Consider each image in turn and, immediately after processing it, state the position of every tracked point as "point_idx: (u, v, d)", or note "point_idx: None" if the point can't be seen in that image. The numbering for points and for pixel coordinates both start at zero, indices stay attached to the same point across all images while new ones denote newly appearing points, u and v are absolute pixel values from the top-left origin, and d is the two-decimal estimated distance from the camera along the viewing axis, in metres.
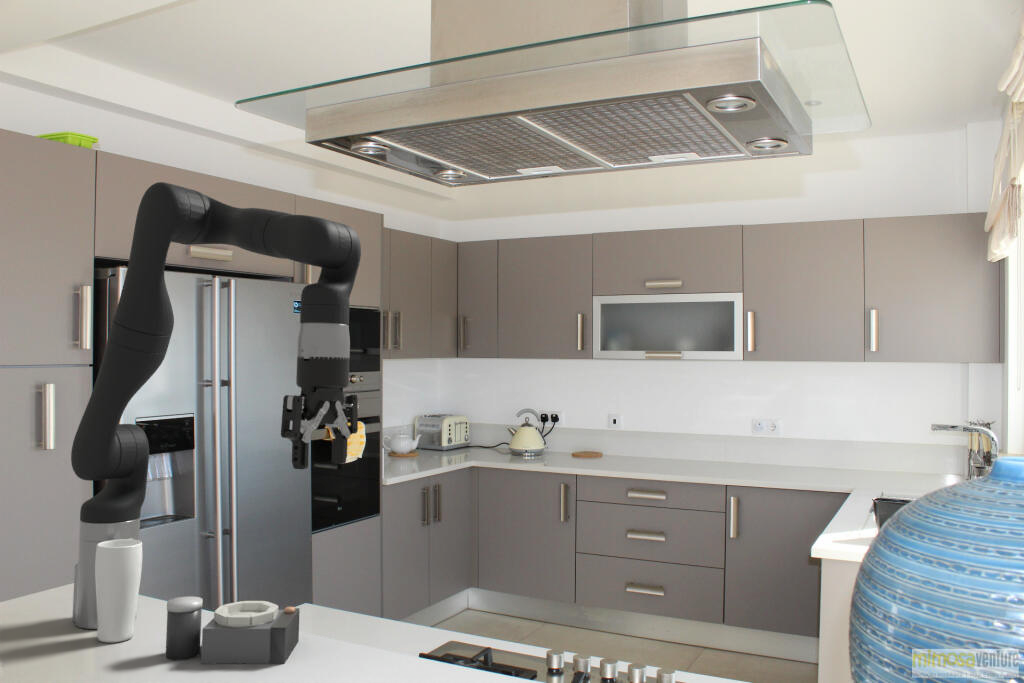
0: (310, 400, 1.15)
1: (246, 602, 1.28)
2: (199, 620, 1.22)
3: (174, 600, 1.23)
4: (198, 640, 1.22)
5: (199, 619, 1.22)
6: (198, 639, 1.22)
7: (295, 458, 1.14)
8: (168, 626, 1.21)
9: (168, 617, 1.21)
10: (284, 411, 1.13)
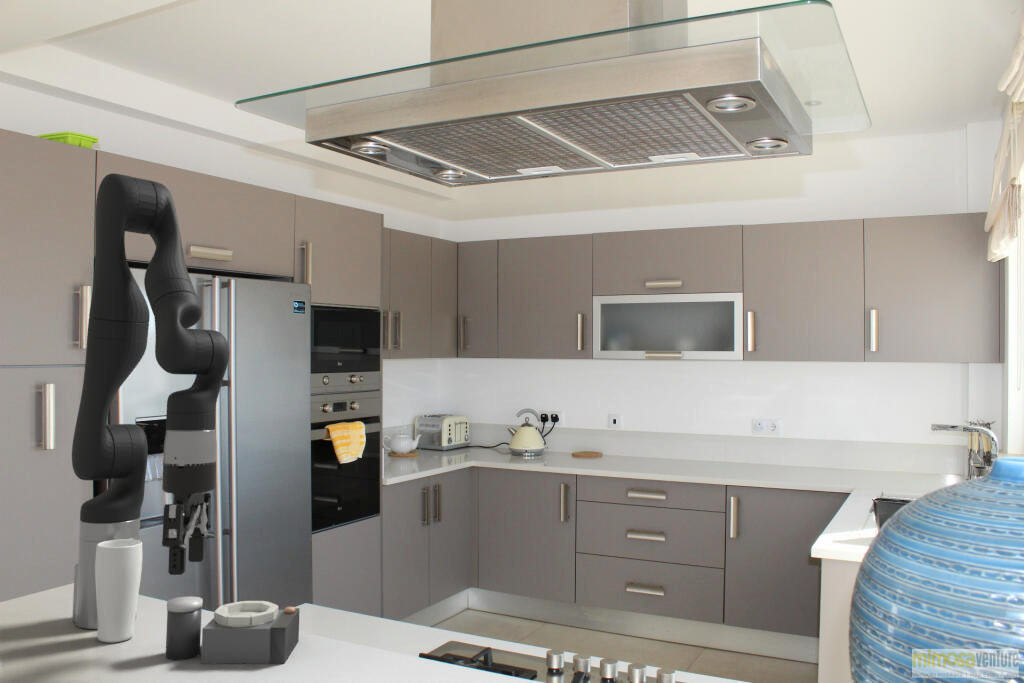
0: (187, 506, 1.19)
1: (246, 602, 1.28)
2: (199, 620, 1.22)
3: (174, 600, 1.23)
4: (198, 640, 1.22)
5: (199, 619, 1.22)
6: (198, 639, 1.22)
7: (174, 565, 1.18)
8: (168, 626, 1.21)
9: (168, 617, 1.21)
10: (165, 520, 1.16)
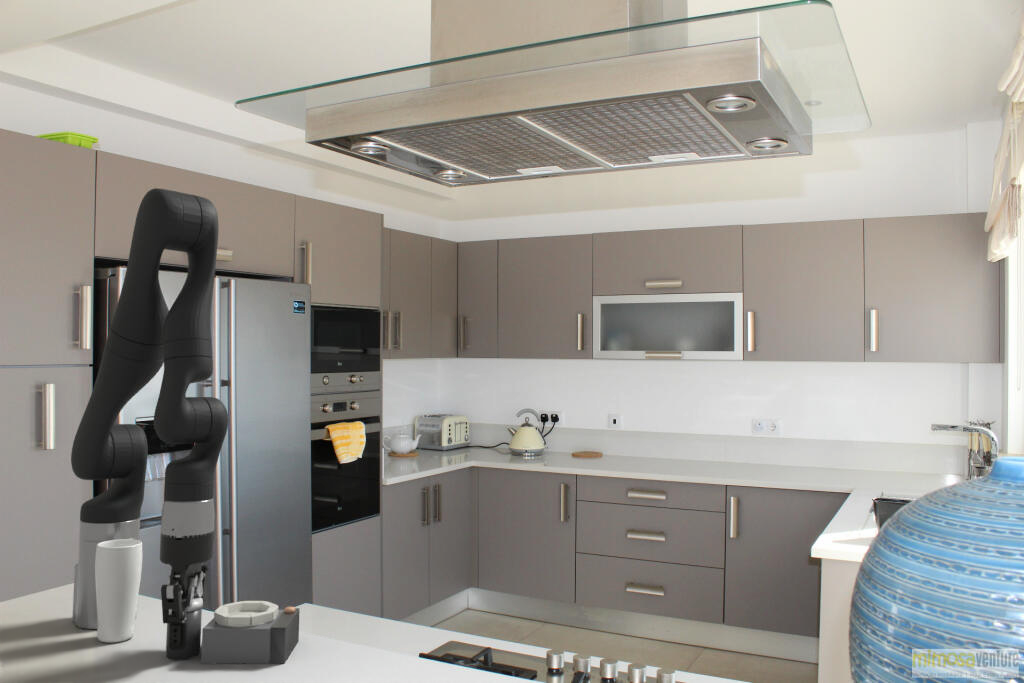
0: (184, 580, 1.19)
1: (246, 602, 1.28)
2: (199, 620, 1.22)
3: None
4: (198, 640, 1.22)
5: (199, 619, 1.22)
6: (198, 639, 1.22)
7: (174, 640, 1.19)
8: (168, 626, 1.21)
9: None
10: (164, 601, 1.16)
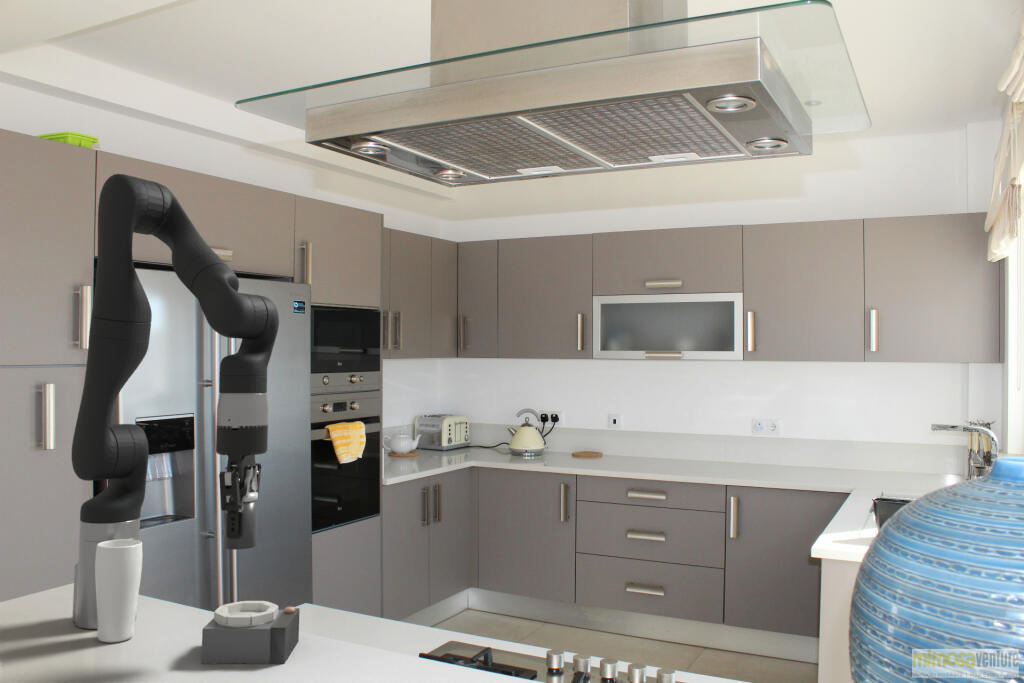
0: (241, 469, 1.21)
1: (246, 602, 1.28)
2: (255, 512, 1.24)
3: None
4: (254, 531, 1.24)
5: (255, 511, 1.24)
6: (254, 530, 1.24)
7: (232, 529, 1.20)
8: (225, 517, 1.22)
9: None
10: (222, 488, 1.18)
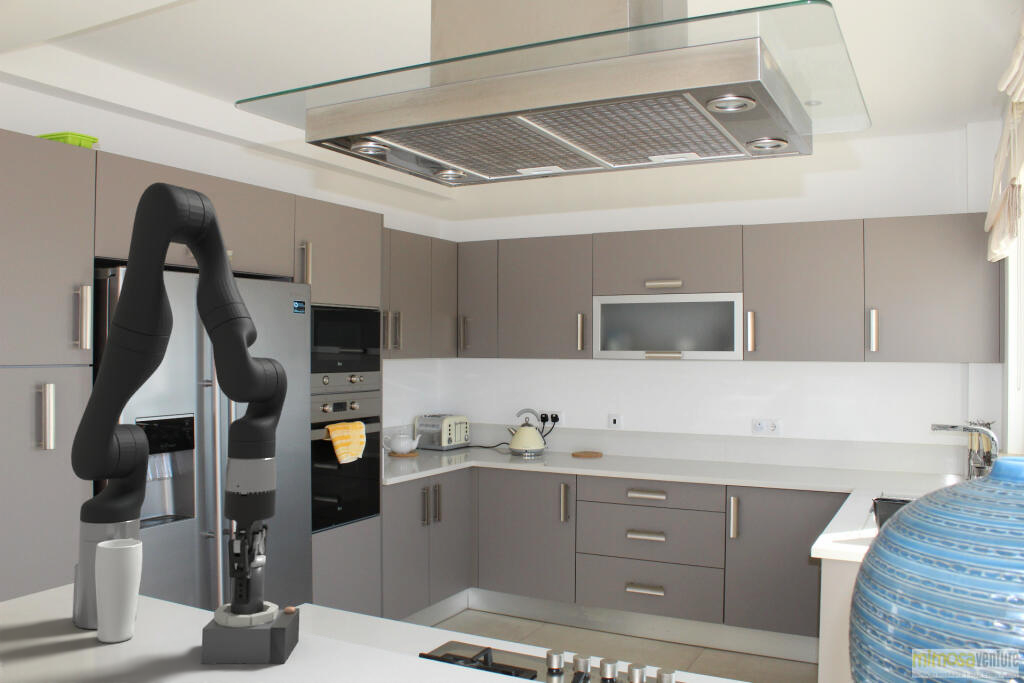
0: (249, 535, 1.21)
1: None
2: (263, 576, 1.24)
3: None
4: (262, 596, 1.24)
5: (263, 575, 1.24)
6: (262, 595, 1.24)
7: (240, 595, 1.21)
8: (233, 581, 1.23)
9: None
10: (231, 556, 1.18)
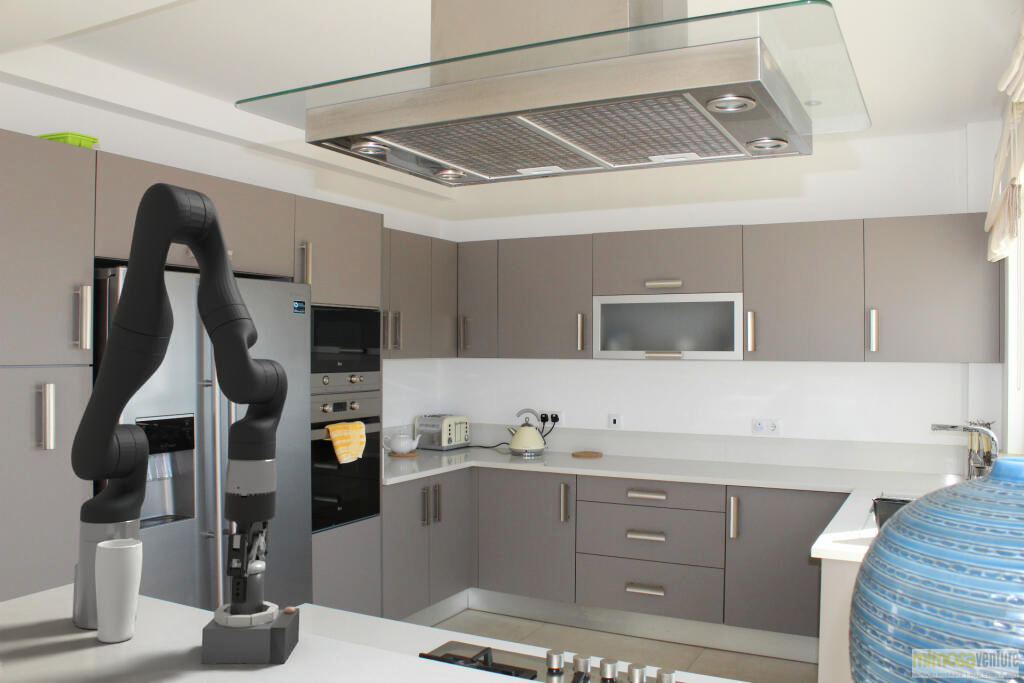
0: (249, 535, 1.21)
1: None
2: (262, 582, 1.24)
3: None
4: (261, 602, 1.24)
5: (262, 581, 1.24)
6: (261, 601, 1.24)
7: (237, 593, 1.19)
8: None
9: None
10: (230, 550, 1.18)
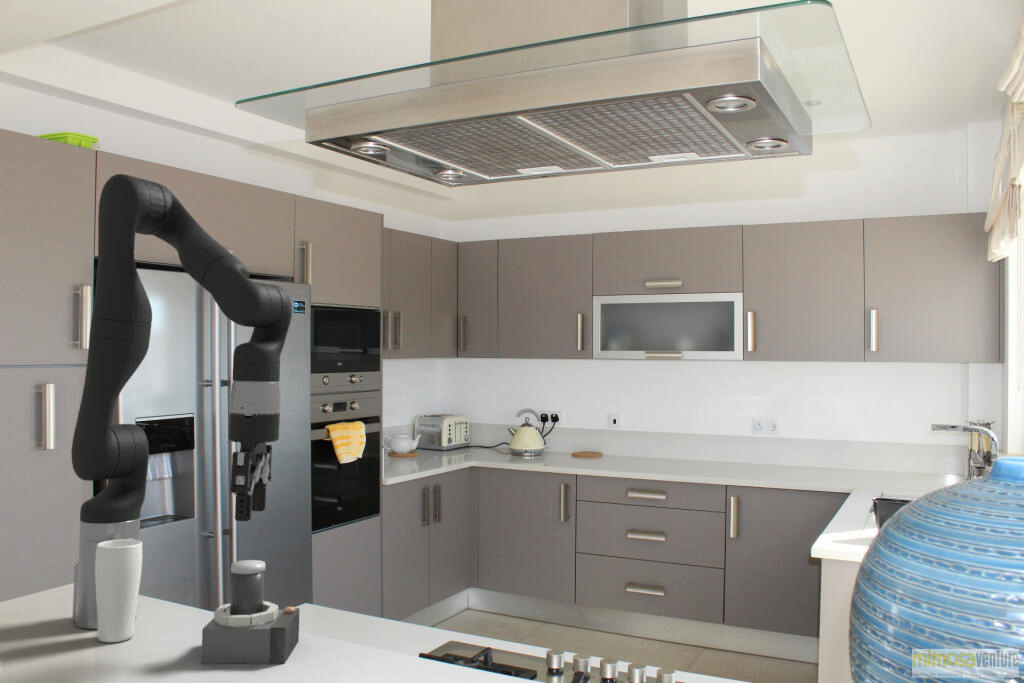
0: (253, 455, 1.22)
1: None
2: (262, 582, 1.24)
3: (238, 563, 1.25)
4: (261, 602, 1.24)
5: (262, 581, 1.24)
6: (261, 601, 1.24)
7: (240, 511, 1.20)
8: (233, 588, 1.23)
9: (232, 579, 1.23)
10: (234, 467, 1.19)
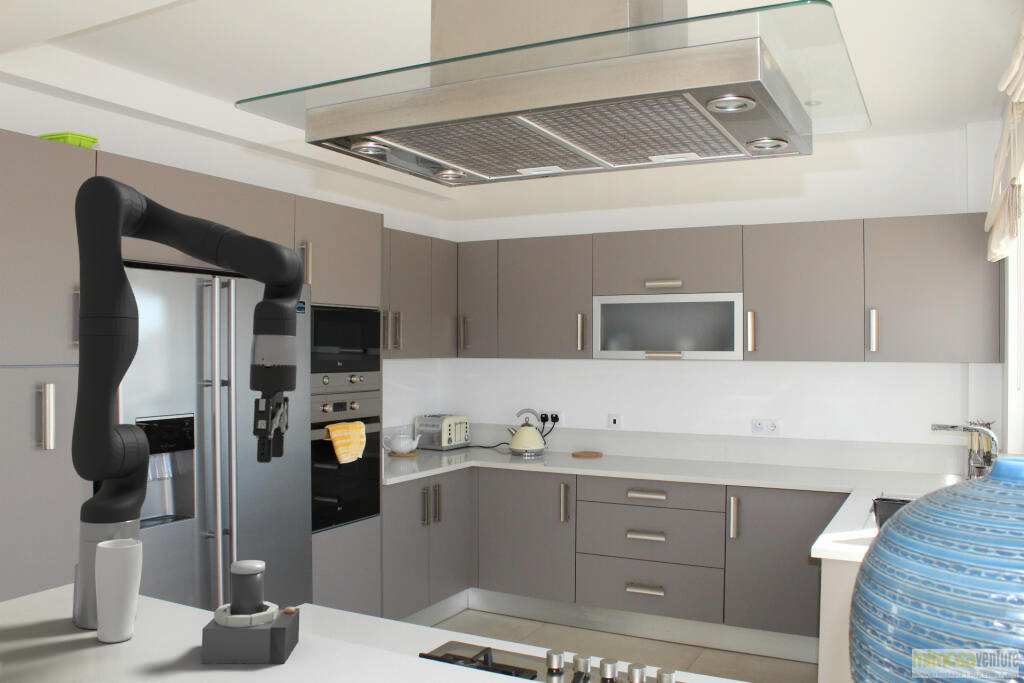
0: (273, 402, 1.33)
1: None
2: (262, 582, 1.24)
3: (237, 563, 1.25)
4: (261, 602, 1.24)
5: (262, 581, 1.24)
6: (261, 601, 1.24)
7: (262, 453, 1.31)
8: (233, 588, 1.23)
9: (232, 579, 1.23)
10: (256, 412, 1.29)
